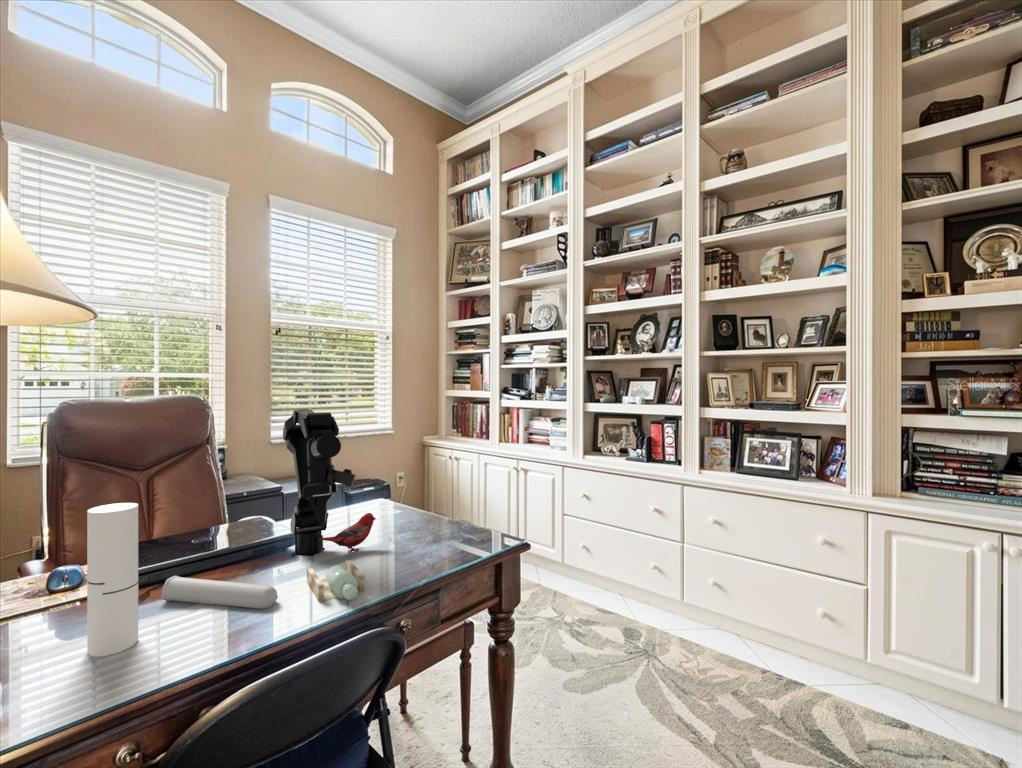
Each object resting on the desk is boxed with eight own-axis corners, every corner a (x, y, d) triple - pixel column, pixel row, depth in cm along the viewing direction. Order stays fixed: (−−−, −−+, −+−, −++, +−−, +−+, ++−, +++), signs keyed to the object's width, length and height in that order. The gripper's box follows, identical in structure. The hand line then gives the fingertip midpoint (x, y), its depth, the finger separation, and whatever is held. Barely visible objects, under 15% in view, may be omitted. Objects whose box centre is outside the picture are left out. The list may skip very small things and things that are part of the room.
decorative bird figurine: (378, 546, 142) (378, 512, 142) (320, 563, 129) (320, 525, 129) (373, 544, 144) (373, 510, 144) (315, 560, 131) (315, 523, 131)
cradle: (306, 585, 115) (306, 568, 115) (349, 575, 121) (349, 559, 121) (318, 604, 105) (318, 585, 105) (364, 593, 111) (364, 575, 111)
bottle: (321, 576, 111) (334, 594, 102) (339, 560, 114) (354, 576, 104) (334, 591, 113) (347, 610, 104) (352, 575, 115) (367, 592, 106)
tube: (284, 584, 107) (184, 574, 111) (269, 585, 102) (165, 576, 106) (279, 610, 105) (177, 600, 109) (263, 613, 100) (158, 602, 104)
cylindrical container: (107, 636, 92) (106, 503, 92) (147, 634, 93) (147, 502, 92) (76, 657, 85) (76, 513, 85) (120, 655, 86) (120, 512, 85)
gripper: (349, 456, 119) (353, 522, 116) (355, 459, 136) (358, 516, 134) (300, 461, 116) (303, 529, 113) (312, 463, 134) (315, 522, 131)
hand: (322, 523), depth 123 cm, fingers closed
